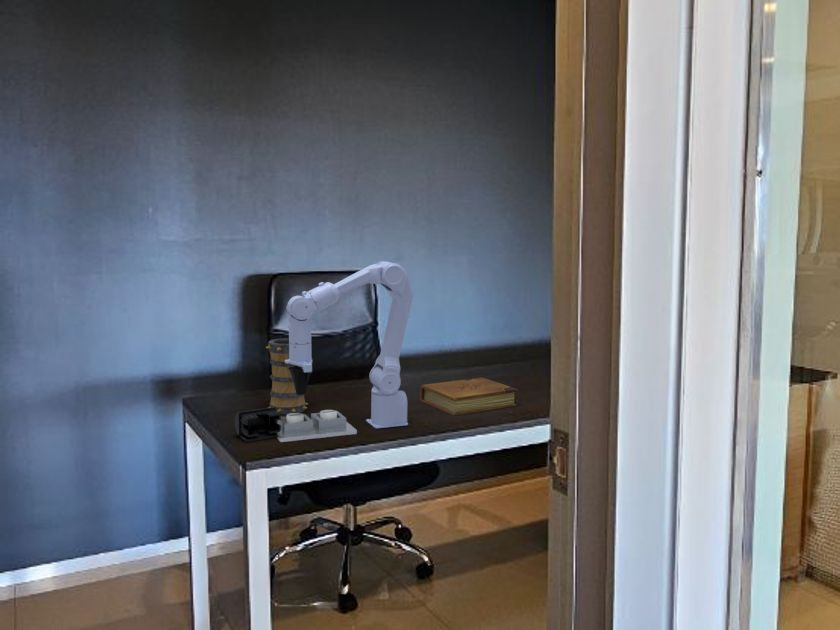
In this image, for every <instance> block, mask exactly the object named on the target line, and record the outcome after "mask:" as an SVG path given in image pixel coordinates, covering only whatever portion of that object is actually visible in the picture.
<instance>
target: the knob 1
mask: <svg viewBox="0 0 840 630" xmlns="http://www.w3.org/2000/svg"><path fill="white" fill-rule="evenodd" d="M303 414H304V413H302V412H300V413H290V414H285V416H286V420H287V423H292V422H302V421H304V415H303Z"/></svg>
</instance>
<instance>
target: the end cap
mask: <svg viewBox="0 0 840 630" xmlns="http://www.w3.org/2000/svg"><path fill="white" fill-rule="evenodd" d="M269 407H270V406H269ZM281 416H282V414H279V413H277V412H276V407H270V408H268V407H263V408H258V409H257V408H256V409H251V410H244V411H237V412H236V414H235V416H234V428H235V431H236V433H237V434H238V437H240V438H241V439H242V440H243V441H244V442H246V443H251V442H259V441H263V440H270V439H274V438H277V435H276V434H275V433H277V432H280V431H281V425H280V424H278V423H277V422H278V420H281Z"/></svg>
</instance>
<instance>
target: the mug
mask: <svg viewBox="0 0 840 630" xmlns="http://www.w3.org/2000/svg"><path fill="white" fill-rule="evenodd" d="M265 348H266V349H268V352H269V354H270V358H269V364H270V365H271V373H272V374H271V375H270V376H269V378H270V379H271V381H272V383H271V385H272V386H271V389H270V393H269V395H270V402H269V403H268V404H269V406H268V407H267V408H270V407H276V412H277V413H279V414H280V415H287V414H290V413H302V412H305V411H306V410H307V409H308V407H307V405H309V403H308V402H306V400H305V395H306V393H305V394H303V395H297V394H296V391H295V386H294V382H293V378H292V375H291V373H290V371H289V369H288V367H294V366H295V365H293V364H290V363H289V364H286V363H285V360H288V359H289V337H288V338H287V337H286V338H285V337H284V338H273V339H270V340H269V341H268V345H267V346H265Z"/></svg>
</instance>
